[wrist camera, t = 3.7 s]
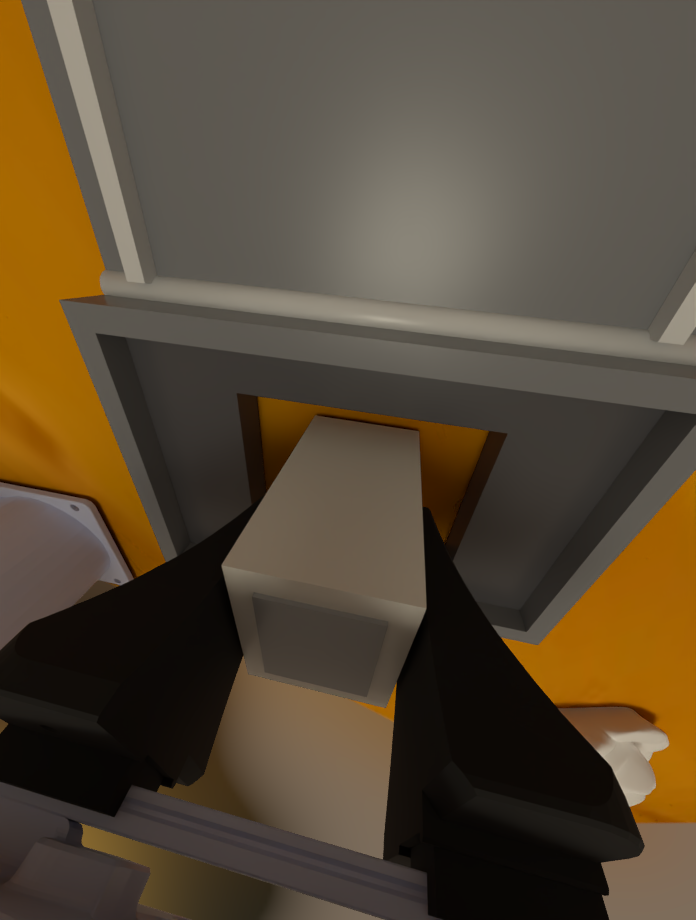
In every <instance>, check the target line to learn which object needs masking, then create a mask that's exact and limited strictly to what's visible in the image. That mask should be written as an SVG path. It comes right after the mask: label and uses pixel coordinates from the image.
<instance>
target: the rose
mask: <svg viewBox="0 0 696 920" xmlns="http://www.w3.org/2000/svg"><path fill="white" fill-rule="evenodd" d="M558 709H559V711H560V712H561V713H562V714H563V715H564V716H565V717H566V718H567V719H568V720H569V722H570V723H571V724H572V725H573V726H574V727H575V728H576V729H577V730H578V731H579V732H580V733H581V734H582V736H583V737H584V738H585V739H586V740H587V741H588V742H589V743H590V744H591V745H592V746H593V747H594V748H595V750H596V751H597V752H598V753H599V754H600V755H601V756H602V757H603V758H604V759H605V760H606V761H607V763H608V764H609V765H610V766H611V767H612V769H613V772H614V774H615V776H616V778H617V780H618V782H619V785H620V787H621V789H622V791H623V793H624V795H625V797H626V800H627V802H628V804H629V807H630V806H633V805H636V804H638V803H641V802H642V801H644V799H645V795H648V794H650V793H651V791H652V790H653V789H655V787H656V782H655V776H654V772H653V770H652V767H651V766H650V764H649V762H648V761H649V760H650V758H651V756H652V754H653V752H655V751H660V750H663V749H665V748H666V747H667V746H668V745H669V741H668V738H667V735H666V734H665V733H664V732H663V731H662V730H660V729H659V728H658V727H656V726H655V725H653V724H652V723H650V722H649V721H647V720H645V719H644V718H643V717H641V716H640V715H638V714H637V713H636V712H635V711H634V710H633V709H631V708H627V707H591V708H558Z"/></svg>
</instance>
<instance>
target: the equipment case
mask: <svg viewBox="0 0 696 920" xmlns="http://www.w3.org/2000/svg"><path fill="white" fill-rule="evenodd" d="M21 1H22V4H23V8H24V11H25V14H26V17H27V20H28V23H29V27H30V30H31V33H32V36H33V39H34V43H35V46H36V49H37V52H38V55H39V58H40V62H41V65H42V68H43V71H44V74H45V78H46V81H47V84H48V87H49V90H50V93H51V97H52V100H53V103H54V106H55V109H56V113H57V116H58V119H59V122H60V125H61V128H62V132H63V135H64V138H65V141H66V144H67V148H68V151H69V154H70V157H71V160H72V163H73V167H74V170H75V173H76V176H77V179H78V183H79V186H80V189H81V192H82V195H83V198H84V202H85V205H86V208H87V211H88V214H89V218H90V221H91V224H92V227H93V230H94V233H95V237H96V240H97V243H98V246H99V249H100V253H101V256H102V259H103V262H104V265H105V268H106V270H104V271H103V272H102V274H101V276H100V285H101V289H102V291H103V293H104V295H99V296H90V297H81V298H72V299H63V300H59V301H60V303H61V306H62V308H63V310H64V313H65V315H66V318H67V320H68V323H69V325H70V328H71V330H72V333H73V335H74V337H75V340H76V342H77V345H78V347H79V350H80V352H81V355H82V357H83V360H84V362H85V364H86V367H87V369H88V372H89V374H90V377H91V379H92V382H93V384H94V387H95V389H96V391H97V394H98V396H99V399H100V401H101V404H102V406H103V409H104V411H105V414H106V416H107V418H108V421H109V423H110V426H111V428H112V431H113V433H114V436H115V438H116V441H117V443H118V445H119V448H120V450H121V453H122V455H123V458H124V460H125V463H126V465H127V468H128V470H129V472H130V475H131V477H132V480H133V482H134V485H135V487H136V490H137V492H138V495H139V497H140V499H141V502H142V504H143V507H144V509H145V512H146V514H147V517H148V519H149V522H150V524H151V526H152V529H153V531H154V534H155V536H156V539H157V541H158V544H159V546H160V549H161V551H162V553H163V556H164V558H165V561H166V562H168V561H170V560H171V559H173V558H175V557H177V556H179V555H180V554H182V553H184V552H185V551H187V550H189V549H190V548H192V547H193V546H195V545H197V544H198V543H200V542H201V541H203V540H204V539H206V538H207V537H209V536H210V535H212V534H213V533H215V532H216V531H218V530H219V529H220V528H222V527H223V526H225V525H226V524H227V523H229V522H230V521H232V520H233V519H234V518H236V517H237V516H238V515H239V514H241V513H242V512H243V511H244V510H246V509H247V508H248V507H250V506H251V505H252V504H253V503H255V502H256V501H257V500H258V499H259V498H261V497H262V496H263V495H264V494H265V493H266V487H265V477H264V466H263V456H262V445H261V435H260V424H259V414H258V403H257V396H260V397H267V398H274V399H280V400H287V401H294V402H300V403H307V404H314V405H321V406H327V407H334V408H341V409H347V410H354V411H361V412H367V413H374V414H381V415H387V416H394V417H401V418H407V419H414V420H421V421H428V422H434V423H441V424H448V425H454V426H461V427H468V428H474V429H481V430H488V431H490V432H489V435H488V437H487V440H486V443H485V445H484V448H483V450H482V453H481V455H480V458H479V460H478V463H477V466H476V468H475V471H474V473H473V476H472V478H471V481H470V483H469V486H468V489H467V491H466V494H465V496H464V499H463V501H462V504H461V506H460V509H459V512H458V514H457V517H456V519H455V522H454V524H453V527H452V529H451V532H450V535H449V537H448V540H447V542H446V545H445V547H446V549H447V551H448V553H449V555H450V557H451V558H452V560H453V562H454V564H455V566H456V568H457V570H458V572H459V574H460V575H461V577H462V579H463V581H464V582H465V584H466V586H467V588H468V589H469V591H470V593H471V594H472V596H473V597H474V599H475V601H476V602H477V604H478V605H479V607H480V608H481V610H482V611H483V613H484V614H485V616H486V617H487V619H488V620H489V622H490V623H491V625H492V626H493V627H494V629H495V630H496V632H497V633H498V635H499V636H500V637H503V638H507V639H512V640H517V641H521V642H526V643H530V644H535V645H538V644H539V643H540V642H541V641H542V640H543V639H544V638H545V637H546V635H547V634H548V633H549V632H550V631H551V630H552V629H553V628H554V627H555V625H556V624H557V623H558V622H559V621H560V620H561V619H562V618H563V617H564V615H565V614H566V613H567V612H568V611H569V610H570V609H571V608H572V607H573V605H574V604H575V603H576V602H577V601H578V600H579V599H580V598H581V597H582V595H583V594H584V593H585V592H586V591H587V590H588V589H589V588H590V587H591V585H592V584H593V583H594V582H595V581H596V580H597V579H598V578H599V577H600V575H601V574H602V573H603V572H604V571H605V570H606V569H607V568H608V567H609V565H610V564H611V563H612V562H613V561H614V560H615V559H616V558H617V557H618V555H619V554H620V553H621V552H622V551H623V550H624V549H625V548H626V547H627V545H628V544H629V543H630V542H631V541H632V540H633V539H634V538H635V537H636V535H637V534H638V533H639V532H640V531H641V530H642V529H643V528H644V527H645V525H646V524H647V523H648V522H649V521H650V520H651V519H652V518H653V517H654V515H655V514H656V513H657V512H658V511H659V510H660V509H661V508H662V507H663V505H664V504H665V503H666V502H667V501H668V500H669V499H670V498H671V497H672V495H673V494H674V493H675V492H676V491H677V490H678V489H679V488H680V487H681V485H682V484H683V483H684V482H685V481H686V480H687V479H688V478H689V477H690V475H691V474H692V473H693V472H694V471H695V470H696V0H21Z"/></svg>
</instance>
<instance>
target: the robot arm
mask: <svg viewBox="0 0 696 920" xmlns="http://www.w3.org/2000/svg"><path fill="white" fill-rule="evenodd" d="M265 495H266V493H265V494H264V495H263V496H262V497H261V498H259V499H258V500H257V501H256V502H255V503H253V504H252V505H251V506H250V507H248V508H247V509H246V510H244V511H243V512H242V513H241V514H239V515H238V516H237V517H236V518H234V519H233V520H232V521H230V522H229V523H227V524H226V525H225V526H223V527H222V528H220V529H219V530H218V531H216V532H215V533H213V534H212V535H210V536H209V537H207V538H206V539H204V540H203V541H201V542H200V543H198V544H197V545H195V546H193V547H192V548H190V549H189V550H187V551H185V552H184V553H182V554H180V555H179V556H177V557H175V558H173V559H171V560H170V561H168V562H166V563H164V564H162V565H160V566H158V567H156V568H154V569H153V570H151V571H149V572H147V573H145V574H143V575H141V576H139V577H137V578H135V579H134V578H133V576H132V574H131V572H130V570H129V569H128V567H127V565H126V563H125V561H124V559H123V557H122V555H121V553H120V552H119V550H118V548H117V546H116V544H115V542H114V540H113V538H112V536H111V534H110V533H109V531H108V529H107V527H106V525H105V523H104V521H103V519H102V517H101V515H100V514H99V512H98V510H97V508H96V506H95V505H94V504H93V503H92V502H91V501H89V500H87V499H83V498H78V497H73V496H68V495H63V494H58V493H53V492H47V491H42V490H37V489H32V488H27V487H22V486H17V485H12V484H7V483H2V482H0V719H2V720H4V721H5V722H7V723H8V725H7V727H6V728H5V729H4V730H3V731H2V732H1V734H0V920H191V919H187V918H184V917H181V916H177V915H174V914H170V913H167V912H164V911H161V910H158V909H154V908H151V907H148V906H144V905H141V904H138V902H139V899H140V897H141V894H142V892H143V890H144V887H145V885H146V883H147V880H148V878H149V876H150V868H149V867H146V866H143V865H140V864H138V863H135V862H132V861H129V860H126V859H123V858H120V857H117V856H114V855H111V854H107V853H104V852H101V851H97V850H93V849H90V848H86V847H84V846H83V845H82V843H81V839H82V835H83V828H82V825H81V824H80V823H82V824H85V825H88V826H91V827H95V828H98V829H101V830H104V831H107V832H111V833H113V834H117V835H120V836H123V837H126V838H129V839H132V840H135V841H139V842H142V843H145V844H148V845H151V846H155V847H157V848H161V849H164V850H167V851H170V852H173V853H176V854H180V855H183V856H186V857H189V858H192V859H196V860H198V861H202V862H205V863H208V864H211V865H214V866H217V867H221V868H224V869H227V870H230V871H234V872H236V873H240V874H243V875H246V876H249V877H252V878H255V879H258V880H262V881H265V882H268V883H271V884H274V885H278V886H280V887H283V888H287V889H290V890H293V891H296V892H300V893H302V894H306V895H309V896H312V897H315V898H318V899H321V900H324V901H328V902H331V903H334V904H337V905H340V906H343V907H347V908H350V909H353V910H356V911H359V912H362V913H365V914H369V915H372V916H375V917H378V918H381V919H385V920H609V917H608V914H607V911H606V908H605V904H604V901H603V897H602V895H604V896H606V895H609V888H608V884H607V881H606V878H605V875H604V872H603V868H602V866H601V862H608V861H615V860H622V859H629V858H633V857H637V856H639V855H640V854H641V853H642V851H643V849H644V843H643V840H642V838H641V835H640V832H639V830H638V827H637V825H636V822H635V820H634V817H633V815H632V812H631V809H630V807H629V804H628V802H627V800H626V797H625V795H624V793H623V791H622V789H621V787H620V785H619V782H618V780H617V778H616V776H615V774H614V772H613V769H612V767H611V766H610V765H609V764H608V763H607V761H606V760H605V759H604V758H603V757H602V756H601V755H600V754H599V753H598V752H597V751H596V750H595V748H594V747H593V746H592V745H591V744H590V743H589V742H588V741H587V740H586V739H585V738H584V737H583V736H582V734H581V733H580V732H579V731H578V730H577V729H576V728H575V727H574V726H573V725H572V724H571V723H570V722H569V720H568V719H567V718H566V717H565V716H564V715H563V714H562V713H561V712H560V711H559V709H558V708H557V707H556V706H555V705H554V704H553V702H552V701H551V700H550V699H549V698H548V696H547V695H546V694H545V693H544V692H543V691H542V689H541V688H540V687H539V686H538V685H537V684H536V682H535V681H534V680H533V679H532V677H531V676H530V675H529V673H528V672H527V671H526V670H525V668H524V667H523V666H522V665H521V663H520V662H519V661H518V659H517V658H516V657H515V656H514V654H513V653H512V652H511V651H510V649H509V648H508V647H507V645H506V644H505V643H504V641H503V640H502V639H501V637H500V636H499V635H498V633H497V632H496V630H495V629H494V627H493V626H492V625H491V623H490V622H489V620H488V619H487V617H486V616H485V614H484V613H483V611H482V610H481V608H480V607H479V605H478V604H477V602H476V601H475V599H474V597H473V596H472V594H471V593H470V591H469V589H468V588H467V586H466V584H465V582H464V581H463V579H462V577H461V575H460V574H459V572H458V570H457V568H456V566H455V564H454V562H453V560H452V558H451V557H450V555H449V553H448V551H447V549H446V547H445V544H444V542H443V540H442V538H441V536H440V533H439V531H438V529H437V527H436V524H435V522H434V519H433V517H432V514H431V511H430V510H429V508H427V507H422V511H423V535H424V558H425V581H426V605H427V609H426V611H425V614H424V616H423V619H422V621H421V623H420V626H419V628H418V631H417V633H416V636H415V638H414V640H413V643H412V645H411V648H410V650H409V653H408V655H407V658H406V660H405V662H404V665H403V667H402V670H401V672H400V675H399V677H398V679H397V687H396V701H395V715H394V730H393V741H392V754H391V767H390V777H389V789H388V800H387V811H386V822H385V833H384V853H383V860H382V859H379V858H375V857H372V856H369V855H365V854H362V853H358V852H355V851H352V850H349V849H345V848H342V847H338V846H335V845H332V844H328V843H325V842H321V841H318V840H315V839H312V838H308V837H305V836H301V835H298V834H295V833H291V832H288V831H284V830H281V829H278V828H275V827H271V826H268V825H264V824H261V823H258V822H254V821H251V820H248V819H244V818H241V817H238V816H234V815H231V814H228V813H224V812H221V811H218V810H214V809H211V808H207V807H204V806H201V805H197V804H194V803H191V802H187V801H183V800H181V799H177V798H174V797H171V796H167V795H164V794H160V793H157V790H158V788H159V786H160V785H162V786H165V787H169V788H173V787H174V786H175V784H176V783H178V784H182V785H185V786H189V785H191V784H193V783H194V782H195V781H197V780H198V779H199V778H200V777H201V776H202V775H204V772H205V769H206V766H207V763H208V759H209V756H210V753H211V750H212V747H213V744H214V740H215V737H216V734H217V731H218V728H219V725H220V721H221V718H222V715H223V712H224V709H225V706H226V703H227V700H228V697H229V694H230V692H231V689H232V685H233V683H234V680H235V677H236V674H237V671H238V668H239V665H240V663H241V660H242V657H243V651H242V647H241V643H240V639H239V635H238V631H237V627H236V623H235V619H234V615H233V610H232V606H231V602H230V598H229V594H228V590H227V586H226V582H225V578H224V574H223V570H222V566H221V565H222V563H223V562H224V560H225V559H226V557H227V555H228V554H229V552H230V551H231V549H232V547H233V546H234V544H235V543H236V541H237V539H238V538H239V536H240V535H241V533H242V531H243V530H244V528H245V527H246V525H247V523H248V522H249V520H250V519H251V517H252V515H253V514H254V512H255V511H256V509H257V508H258V506H259V504H260V503H261V501H262V500H263V498H264V496H265ZM98 580H100V581H105V582H109V583H114V584H118V585H120V586H118V587H116V588H114V589H112V590H109V591H108V592H105V593H103V594H101V595H98V596H96V597H94V598H91V599H89V600H87V601H84V602H82V603H79V604H77V605H74V604H75V603H76V602H77V601H78V600H79V599H80V598H81V597H82V596H83V595H84V594H85V593H86V592H87V591H88V590H89V589H90V588H91V587H92V586H93V585H94V584H95V582H97V581H98ZM73 605H74V606H73Z"/></svg>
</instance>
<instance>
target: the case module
mask: <svg viewBox="0 0 696 920" xmlns="http://www.w3.org/2000/svg"><path fill="white" fill-rule="evenodd" d="M221 566H222V570H223V574H224V578H225V582H226V586H227V590H228V594H229V598H230V602H231V606H232V610H233V615H234V619H235V623H236V627H237V631H238V635H239V639H240V643H241V647H242V651H243V655H244V659H245V663H246V667H247V671H248V674H250V675H254V676H258V677H262V678H266V679H270V680H275V681H279V682H282V683H287V684H291V685H295V686H299V687H303V688H307V689H311V690H315V691H319V692H323V693H327V694H332V695H335V696H339V697H343V698H347V699H351V700H355V701H359V702H364V703H368V704H372V705H376V706H380V707H384V708H386V706H387V704H388V701H389V699H390V696H391V694H392V692H393V689H394V687H395V684H396V682H397V679H398V677H399V675H400V672H401V670H402V667H403V665H404V662H405V660H406V658H407V655H408V653H409V650H410V648H411V645H412V643H413V640H414V638H415V636H416V633H417V631H418V628H419V626H420V623H421V621H422V619H423V616H424V614H425V611H426V609H427V605H426V581H425V558H424V535H423V511H422V488H421V465H420V441H419V431H414V430H408V429H401V428H395V427H388V426H381V425H375V424H368V423H362V422H355V421H349V420H342V419H336V418H329V417H323V416H316V415H315V416H314V418H313V420H312V421H311V423H310V424H309V426H308V428H307V429H306V431H305V432H304V434H303V436H302V437H301V439H300V440H299V442H298V444H297V445H296V447H295V448H294V450H293V452H292V453H291V455H290V456H289V458H288V460H287V461H286V463H285V464H284V466H283V468H282V469H281V471H280V472H279V474H278V476H277V477H276V479H275V480H274V482H273V484H272V485H271V487H270V488H269V490H268V492H267V493H266V495H265V496H264V498H263V500H262V501H261V503H260V504H259V506H258V508H257V509H256V511H255V512H254V514H253V515H252V517H251V519H250V520H249V522H248V523H247V525H246V527H245V528H244V530H243V531H242V533H241V535H240V536H239V538H238V539H237V541H236V543H235V544H234V546H233V547H232V549H231V551H230V552H229V554H228V555H227V557H226V559H225V560H224V562H223V563H222V565H221Z"/></svg>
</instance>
